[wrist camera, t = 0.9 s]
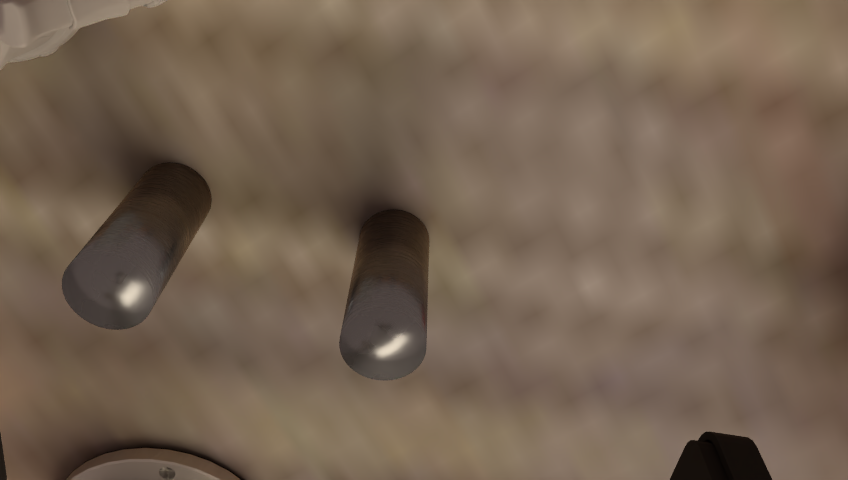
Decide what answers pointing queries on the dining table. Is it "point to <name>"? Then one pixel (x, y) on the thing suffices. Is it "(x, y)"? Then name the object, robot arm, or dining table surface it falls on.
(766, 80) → the dining table surface
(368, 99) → the dining table surface
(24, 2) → the mug
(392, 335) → the posts
